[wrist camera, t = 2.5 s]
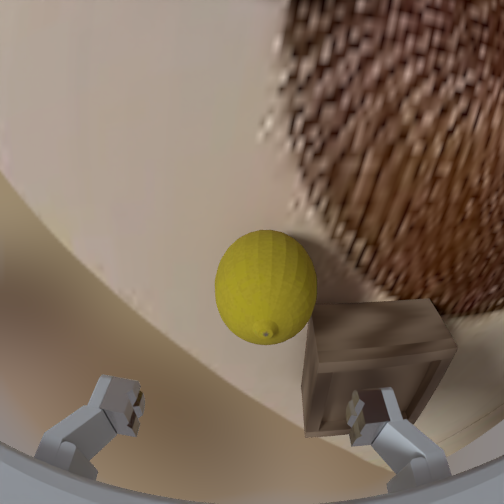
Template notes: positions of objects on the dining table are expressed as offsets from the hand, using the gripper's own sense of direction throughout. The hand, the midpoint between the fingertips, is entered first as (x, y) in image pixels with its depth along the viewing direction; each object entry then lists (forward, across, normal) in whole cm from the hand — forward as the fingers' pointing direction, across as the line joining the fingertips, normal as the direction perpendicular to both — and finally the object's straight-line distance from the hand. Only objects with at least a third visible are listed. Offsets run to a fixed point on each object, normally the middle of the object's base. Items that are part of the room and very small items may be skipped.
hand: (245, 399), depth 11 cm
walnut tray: (+12, -10, +9) cm, 17 cm away
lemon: (+12, -1, 0) cm, 12 cm away
